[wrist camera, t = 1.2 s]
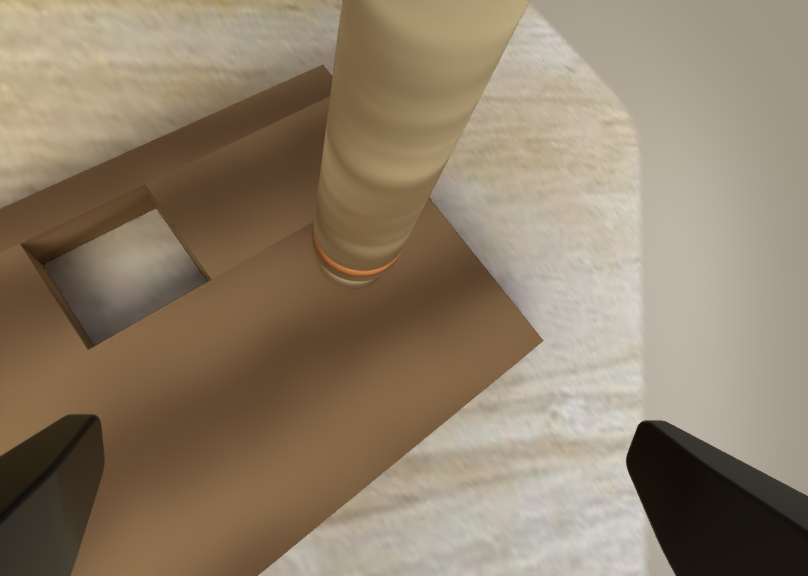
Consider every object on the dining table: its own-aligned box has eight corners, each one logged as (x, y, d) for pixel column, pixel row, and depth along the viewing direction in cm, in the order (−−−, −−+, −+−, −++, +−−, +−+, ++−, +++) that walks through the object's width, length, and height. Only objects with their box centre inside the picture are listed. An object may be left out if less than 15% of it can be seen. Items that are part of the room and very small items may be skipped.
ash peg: (409, 266, 23) (651, -142, 8) (342, 311, 21) (481, -77, 7) (361, 203, 23) (502, -291, 8) (292, 243, 22) (317, -257, 7)
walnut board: (523, 351, 25) (543, 340, 23) (25, 758, 16) (-7, 792, 15) (319, 93, 27) (323, 64, 25) (-203, 338, 19) (-255, 322, 17)
